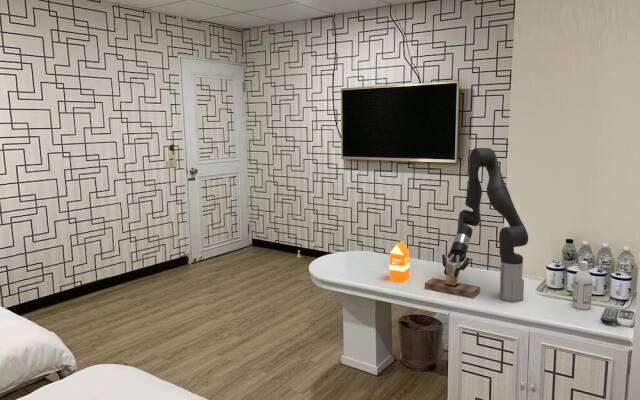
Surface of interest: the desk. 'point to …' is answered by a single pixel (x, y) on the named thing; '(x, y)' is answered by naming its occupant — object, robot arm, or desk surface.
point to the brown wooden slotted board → (452, 288)
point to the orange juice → (399, 263)
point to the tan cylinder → (451, 273)
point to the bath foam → (582, 287)
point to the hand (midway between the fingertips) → (450, 275)
